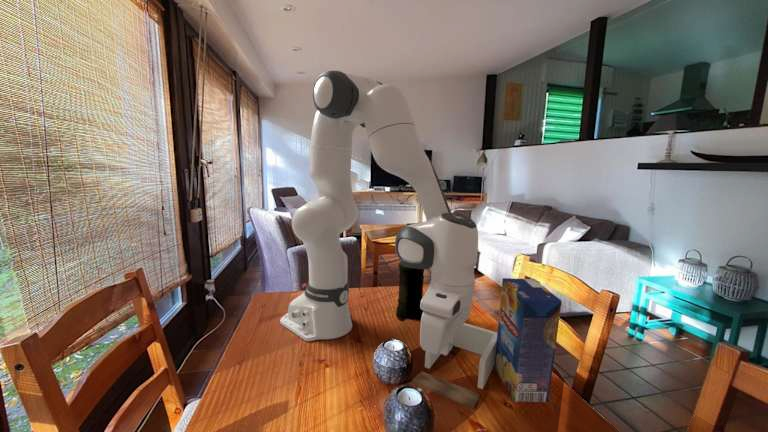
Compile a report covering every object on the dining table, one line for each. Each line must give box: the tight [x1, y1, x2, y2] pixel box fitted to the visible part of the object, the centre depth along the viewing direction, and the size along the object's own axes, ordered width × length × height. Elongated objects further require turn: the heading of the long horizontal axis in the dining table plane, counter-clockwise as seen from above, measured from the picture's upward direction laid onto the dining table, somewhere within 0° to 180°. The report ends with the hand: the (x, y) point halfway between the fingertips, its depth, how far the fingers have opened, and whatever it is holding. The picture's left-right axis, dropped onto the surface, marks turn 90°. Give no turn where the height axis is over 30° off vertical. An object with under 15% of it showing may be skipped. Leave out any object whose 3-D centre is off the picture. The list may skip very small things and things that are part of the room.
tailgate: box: [411, 370, 481, 409], centre depth 74 cm, size 14×1×7 cm
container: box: [395, 261, 425, 322], centre depth 107 cm, size 9×9×18 cm
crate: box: [424, 322, 498, 390], centre depth 82 cm, size 14×14×8 cm
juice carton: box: [493, 277, 563, 403], centre depth 74 cm, size 12×8×24 cm, turn 1°
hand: (445, 351), depth 72 cm, fingers closed
